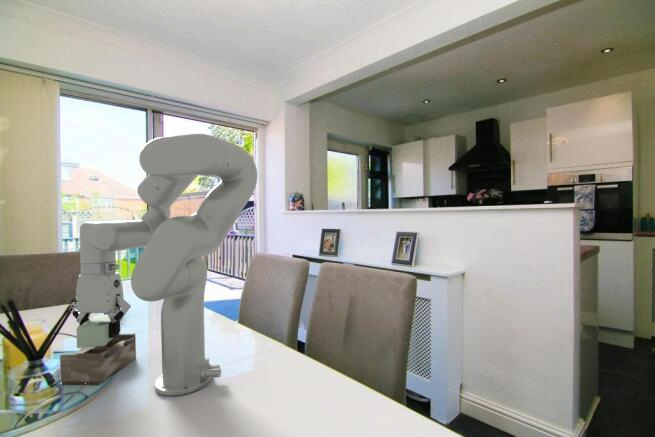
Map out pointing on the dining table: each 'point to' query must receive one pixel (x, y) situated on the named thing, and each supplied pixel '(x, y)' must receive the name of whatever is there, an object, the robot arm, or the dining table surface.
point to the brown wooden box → (97, 361)
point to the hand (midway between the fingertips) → (100, 335)
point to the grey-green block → (94, 332)
